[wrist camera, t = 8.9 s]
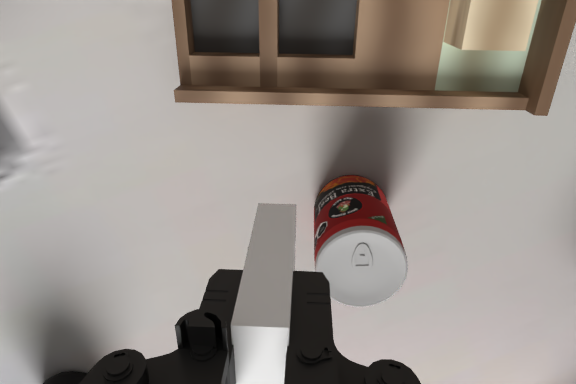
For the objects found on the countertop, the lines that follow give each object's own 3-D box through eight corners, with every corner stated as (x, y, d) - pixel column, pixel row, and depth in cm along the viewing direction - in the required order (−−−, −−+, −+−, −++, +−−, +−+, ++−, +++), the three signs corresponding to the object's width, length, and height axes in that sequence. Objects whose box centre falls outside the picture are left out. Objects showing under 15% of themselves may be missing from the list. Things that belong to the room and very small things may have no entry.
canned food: (376, 163, 41) (396, 219, 32) (394, 227, 45) (418, 296, 35) (303, 184, 43) (301, 244, 33) (326, 246, 46) (330, 316, 36)
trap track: (560, -87, 32) (612, -100, 26) (513, 96, 38) (547, 115, 33) (171, -89, 33) (144, -103, 27) (189, 90, 39) (169, 106, 34)
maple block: (513, -20, 31) (543, -20, 27) (499, 42, 34) (525, 51, 30) (453, -21, 32) (475, -21, 28) (443, 41, 34) (461, 49, 30)
